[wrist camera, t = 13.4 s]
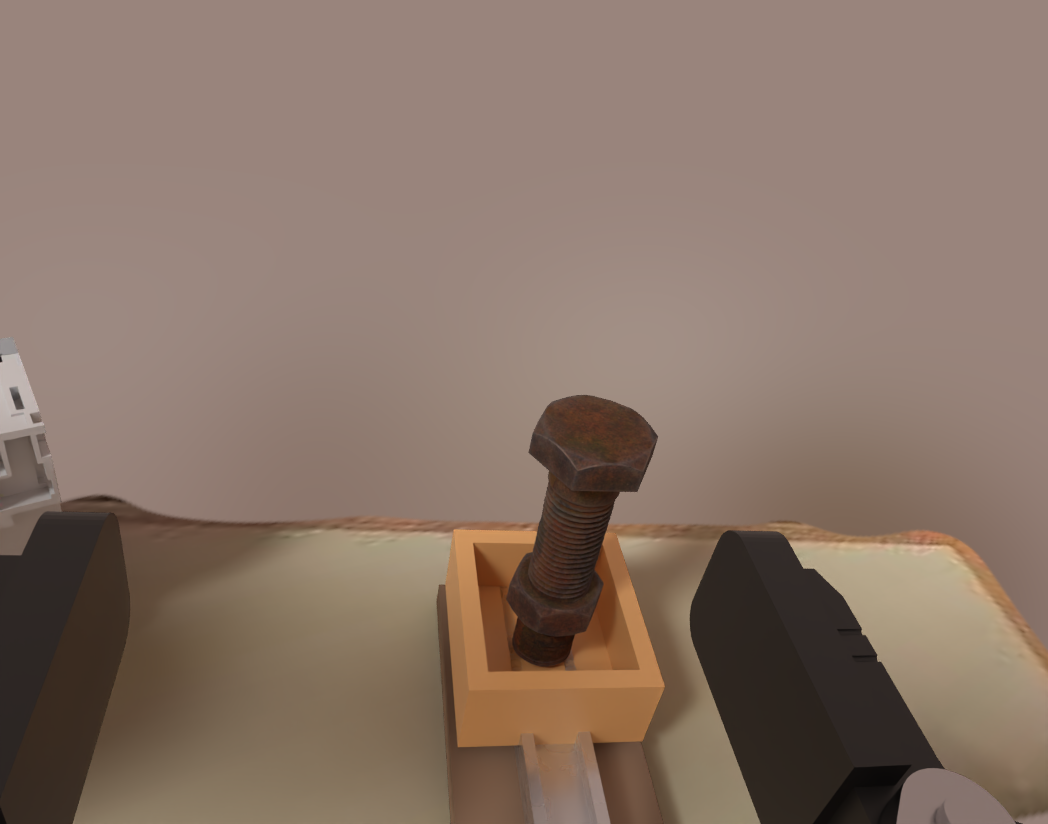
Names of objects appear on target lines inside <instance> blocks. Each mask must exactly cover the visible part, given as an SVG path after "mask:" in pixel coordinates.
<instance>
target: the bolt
mask: <svg viewBox="0 0 1048 824" xmlns="http://www.w3.org/2000/svg"><path fill="white" fill-rule="evenodd" d="M657 438H658V436H657V434H656V433H655V432H654V430H653V429H652V427H651V426H650V425H649V424H648V422H647V421H646V420H645V419H644V418H643V417H642V416H641V415H640V414H638V413H637V412H636V411H634V410H633V409H631V408H628V407H626V406H623V405H621V404H618V403H616V402H613V401H610V400H606V399H602V398H598V397H595V396H588V395H576V396H571V397H566V398H563V399H560V400H556V401H553V402H551V403H550V404H549V405H548V406H547V408H546V409H545V411H544V413H543V414H542V416H541V418H540V420H539V421H538V423H537V425H536V428H535V429H534V432H533V435H532V439H531V444H530V449H529V453H530V454H531V455H532V456H533V457H534V458H535V459H537V460H538V461H539V462H540V463H541V464H542V465H543V466H544V467H546V468H547V469H548V470H549V474H548V479H549V483H548V487H547V491H546V497H545V500H544V505H543V512H542V517H541V520H540V522H539V526H538V531H537V536H536V540H535V543H534V547H533V552H530V553H526V555H525V556H524V557H523V559H522V560H521V562H520V563H519V565H518V567H517V569H516V571H515V573H514V575H513V578H512V580H511V582H510V585H509V589H508V593H507V598H506V600H507V602H508V603H509V605H510V607H511V608H512V610H513V611H514V613H515V614H516V615H517V616H518V618H517V622H516V626H515V630H514V633H513V638H512V645H513V649H514V651H515V652H516V654H517V655H518V656H519V657H521V658H522V659H524V660H525V661H527V662H529V663H531V664H533V665H536V666H542V667H544V666H553V665H556V664H560V663H562V662H563V661H565V660H566V659H567V658H568V656H569V654H570V651H571V648H572V643H573V640H574V637H575V634H578V633H582V632H585V631H586V630H587V628H588V626H589V623H590V621H591V618H592V616H593V613H594V611H595V608H596V606H597V603H598V600H599V597H600V594H601V591H602V588H603V585H604V583H603V581H602V580H601V578H600V577H599V575H598V574H597V572H596V571H595V566H596V562H597V560H598V556H599V553H600V549H601V546H602V543H603V540H604V536H605V533H606V530H607V526H608V522H609V520H610V516H611V513H612V510H613V505H614V501H615V499H616V498H617V497H618V495H619V492H637V491H638V489H639V486H640V484H641V482H642V479H643V477H644V474H645V472H646V470H647V467H648V465H649V462H650V460H651V458H652V455H653V451H654V448H655V445H656V442H657Z"/></svg>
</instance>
